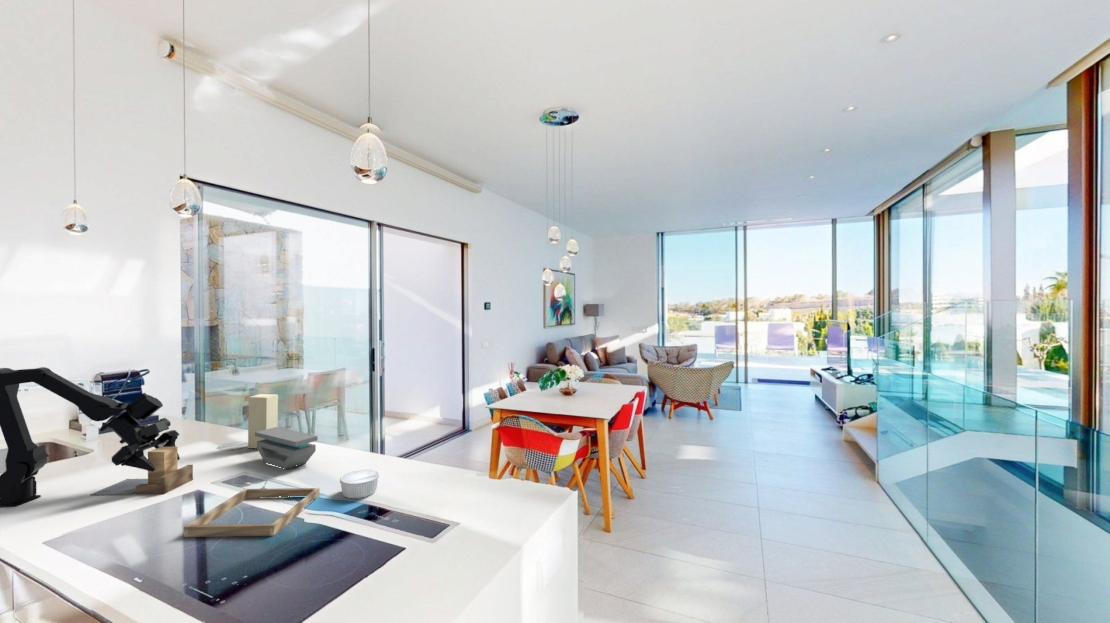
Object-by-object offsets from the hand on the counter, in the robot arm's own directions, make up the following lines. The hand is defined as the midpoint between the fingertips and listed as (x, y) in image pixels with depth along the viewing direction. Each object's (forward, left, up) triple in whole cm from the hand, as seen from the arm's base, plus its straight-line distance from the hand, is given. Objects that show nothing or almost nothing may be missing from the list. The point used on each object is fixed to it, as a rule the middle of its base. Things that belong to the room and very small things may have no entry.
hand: (166, 465), depth 140 cm
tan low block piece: (0, +1, -7) cm, 7 cm away
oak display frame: (-20, -41, -7) cm, 46 cm away
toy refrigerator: (+40, -6, -7) cm, 41 cm away
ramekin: (-6, -63, -7) cm, 64 cm away
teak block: (0, +1, -7) cm, 7 cm away
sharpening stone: (+20, -26, -7) cm, 33 cm away
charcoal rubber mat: (0, +12, -7) cm, 14 cm away
